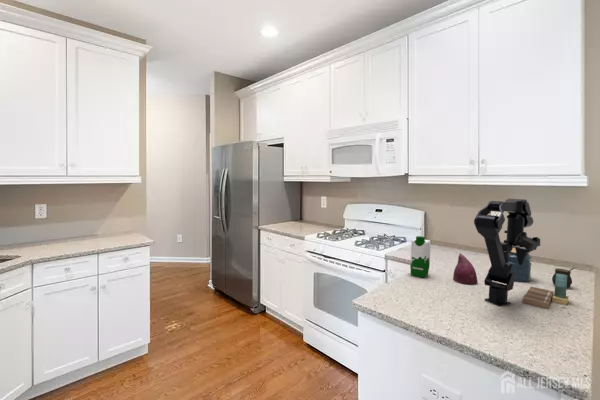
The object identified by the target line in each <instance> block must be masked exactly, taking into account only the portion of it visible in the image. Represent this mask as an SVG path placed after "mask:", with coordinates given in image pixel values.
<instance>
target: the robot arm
mask: <svg viewBox="0 0 600 400" xmlns="http://www.w3.org/2000/svg"><path fill="white" fill-rule="evenodd" d="M491 212H496V213H497V212H498V213H500V215H499V216H498V215H494V214H493V215H492V214H491V215H490V213H491ZM504 212H507V213H508V215H506V218H505V215H504ZM506 219H507V225H506V229H505V230H504V231H503V233H504V234H506V239H504V240H503V242H502V241H501V238H500V232H501V230H502V229H503V225H504V223H505V222H506ZM473 223H474V226H475V229H476V231H477V233H478V234H479V235H480V236H482V237H483V238H484V241H485V242H484V244H485V246H486V249H487V253H488V257H489V261H490V264H491V266H490V268H489V269H488V272H487V274H486V276H485V278H484V281H483V282H484V286H487V287H488V297H486V298H484V301H486V302H489V303H491V304H493V305H496V306H498V307H501V306H507V305H511V303H512V302H510V301H508V293H509V292H510V291H511V290H513V289H514V283H515V281H514V280H515V275H514V273H513V272H514V271H513V268H512V265H511V264H510V263H508V259H509V255H510V254H511V253H512V252H511V251H512V249H513V248H515V249H516V254H517V259H518V263H519V265H522V264H523V262H524V260H525V258H526V256H527V254H528V253H529V252H530V253H532V252H533V251H536V250H537V248H538V247H541V238H540V237H538V236H534V237H529V236H527V235H528V233H527V232H526V231H525V230H524V229H525V228H530V227H531V226H532V225H533V224H534V219H533V217H532V211H531V207H530V203H529V201H528V199H523V198H507V199H505V200H504V201H500V200H491V201H488V203H487V204H486V206H484V207H483V208H482V209H480V210H479V211H478V212H477V214H476V216H475V218H474V219H473ZM530 253H529V254H530Z"/></svg>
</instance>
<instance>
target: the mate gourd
mask: <svg viewBox="0 0 600 400" xmlns="http://www.w3.org/2000/svg"><path fill="white" fill-rule="evenodd" d="M574 269H575V267H573V268H570V269H566V268H554V274H553V276H551V277H552V278H551V282H552V284H553V285H554V286H555V280H556V274H565V275H567V288H566V289H569V288H570V287H571V285H573V280H572V277H571V273H572V272H571V271H572V270H574Z"/></svg>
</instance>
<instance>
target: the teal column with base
mask: <svg viewBox="0 0 600 400" xmlns="http://www.w3.org/2000/svg"><path fill="white" fill-rule="evenodd" d="M567 289H568V288H567V275H565V274H556V280H555V285H554V295H553V297H552V301H551V303H555V304H560V305H563V306H568V302H569V295H567Z"/></svg>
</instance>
